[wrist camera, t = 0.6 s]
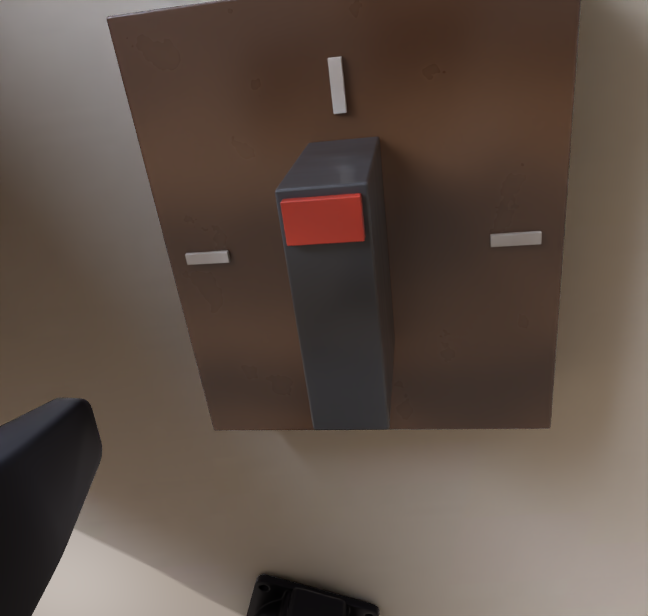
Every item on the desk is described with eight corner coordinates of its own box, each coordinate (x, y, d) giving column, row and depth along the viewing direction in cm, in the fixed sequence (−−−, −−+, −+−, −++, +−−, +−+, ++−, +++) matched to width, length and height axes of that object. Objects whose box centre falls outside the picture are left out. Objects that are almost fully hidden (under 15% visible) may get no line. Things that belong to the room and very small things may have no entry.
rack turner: (394, 339, 19) (389, 436, 15) (334, 341, 19) (311, 437, 15) (379, 135, 16) (367, 185, 12) (307, 142, 16) (271, 193, 12)
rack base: (535, 378, 22) (551, 432, 20) (235, 384, 25) (212, 434, 22) (557, -45, 16) (587, -52, 13) (149, 13, 18) (102, 16, 15)
